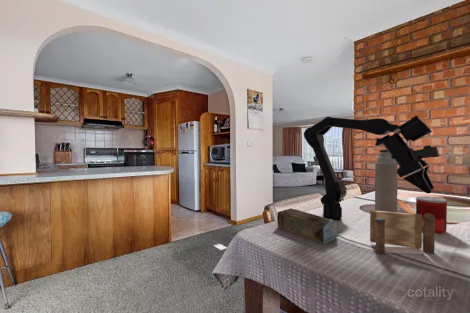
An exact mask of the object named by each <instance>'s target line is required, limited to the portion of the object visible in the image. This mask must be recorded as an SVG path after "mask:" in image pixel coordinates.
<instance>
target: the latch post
mask: <svg viewBox="0 0 470 313" xmlns="http://www.w3.org/2000/svg"><path fill="white" fill-rule="evenodd" d="M375 221H376V243H375V253H376V254H378V255H385V253H386V252H385V247H386V246H385V245H386V244H385V219H383V218H375Z"/></svg>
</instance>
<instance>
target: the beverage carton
mask: <svg viewBox="0 0 470 313" xmlns="http://www.w3.org/2000/svg"><path fill="white" fill-rule="evenodd" d="M337 221H338V220H332V219H327V218H324V217H323V216H321V215H317V214H313V213H310V212H306V211H304V210H303V211H302V210H299V209H295V208H287V209H283V210H281V211H277V228H279V229H282V230H285V231H286V232H290V233H293V234H295V235H298V236H300V237H303V238H305V239H309V240H311V241H314V242H317V243H320V244H323V245H325V244H328V243H330V242H331V241H334V240H336V239H337V238H338V222H337Z"/></svg>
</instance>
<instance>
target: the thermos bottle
mask: <svg viewBox="0 0 470 313" xmlns="http://www.w3.org/2000/svg"><path fill="white" fill-rule="evenodd" d="M398 168H399V165H398V164H397V163H396V161H395V160H394V159H392V158H391V155H390V153H389V152H388V151H387V149H379V156H377V157H376V162H375V163H374V210H375V211H387V212H398V185H399V184H398V178H399V175H398V174H397V170H398Z"/></svg>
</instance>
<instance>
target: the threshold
mask: <svg viewBox="0 0 470 313" xmlns="http://www.w3.org/2000/svg"><path fill="white" fill-rule="evenodd" d="M385 253H386V254H387V253H390V254H391V253H392V254H415V255H416V254H417V255H419V254H420V255H421V254H422V255H425V252H424V251H423V249H419V248H412V247H404V246H385Z"/></svg>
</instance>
